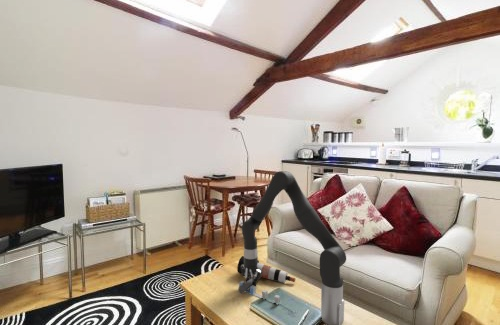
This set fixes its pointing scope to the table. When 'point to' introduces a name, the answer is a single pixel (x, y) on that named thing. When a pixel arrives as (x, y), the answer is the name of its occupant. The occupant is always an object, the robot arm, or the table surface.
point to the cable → (268, 272)
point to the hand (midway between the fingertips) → (250, 285)
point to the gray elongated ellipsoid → (245, 286)
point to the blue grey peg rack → (253, 292)
